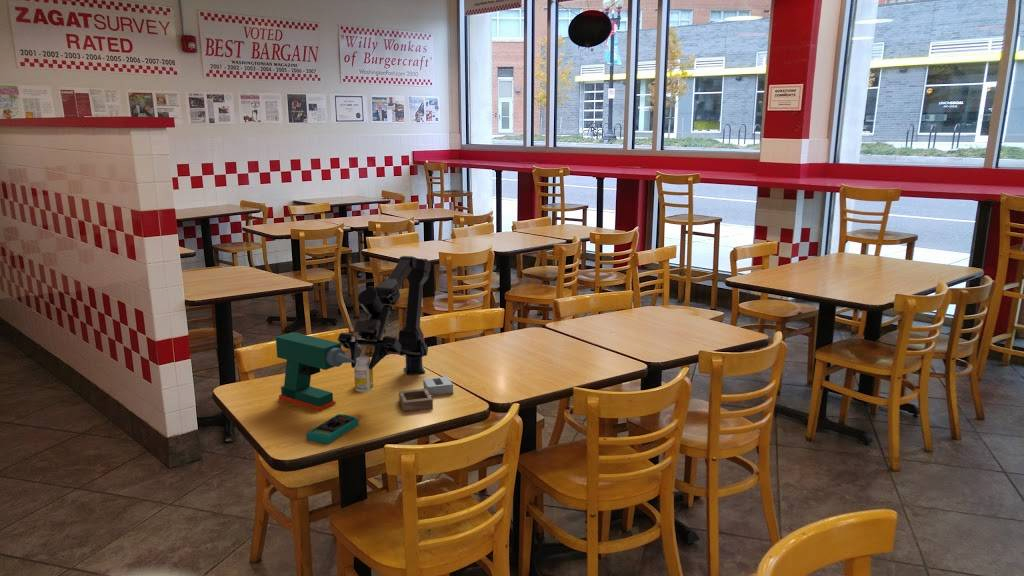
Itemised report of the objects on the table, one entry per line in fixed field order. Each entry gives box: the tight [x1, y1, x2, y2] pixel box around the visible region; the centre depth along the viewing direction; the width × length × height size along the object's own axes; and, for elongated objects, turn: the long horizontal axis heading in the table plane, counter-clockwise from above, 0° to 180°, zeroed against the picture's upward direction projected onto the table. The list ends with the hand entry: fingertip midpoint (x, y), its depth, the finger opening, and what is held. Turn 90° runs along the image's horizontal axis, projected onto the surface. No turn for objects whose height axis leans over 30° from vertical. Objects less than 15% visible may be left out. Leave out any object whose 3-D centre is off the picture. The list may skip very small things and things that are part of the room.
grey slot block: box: [422, 376, 454, 396], centre depth 230 cm, size 8×8×3 cm
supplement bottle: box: [353, 355, 374, 393], centre depth 213 cm, size 5×5×10 cm
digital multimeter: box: [306, 414, 359, 445], centre depth 199 cm, size 7×15×3 cm, turn 157°
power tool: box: [275, 331, 355, 412], centre depth 216 cm, size 32×7×20 cm, turn 56°
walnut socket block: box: [398, 388, 434, 413], centre depth 218 cm, size 10×8×3 cm
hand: (361, 368), depth 211 cm, fingers closed on supplement bottle, 5 cm apart
